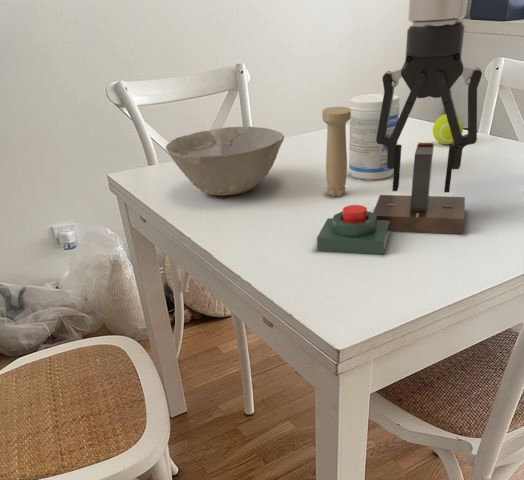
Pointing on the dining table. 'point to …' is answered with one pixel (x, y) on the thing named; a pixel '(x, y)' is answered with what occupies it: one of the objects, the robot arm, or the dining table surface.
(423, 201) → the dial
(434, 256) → the dining table surface
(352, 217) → the button
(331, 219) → the button box
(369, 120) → the supplement tub
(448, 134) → the tennis ball
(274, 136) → the ceramic bowl
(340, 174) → the handle
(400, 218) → the panel
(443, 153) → the dining table surface
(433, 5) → the robot arm
